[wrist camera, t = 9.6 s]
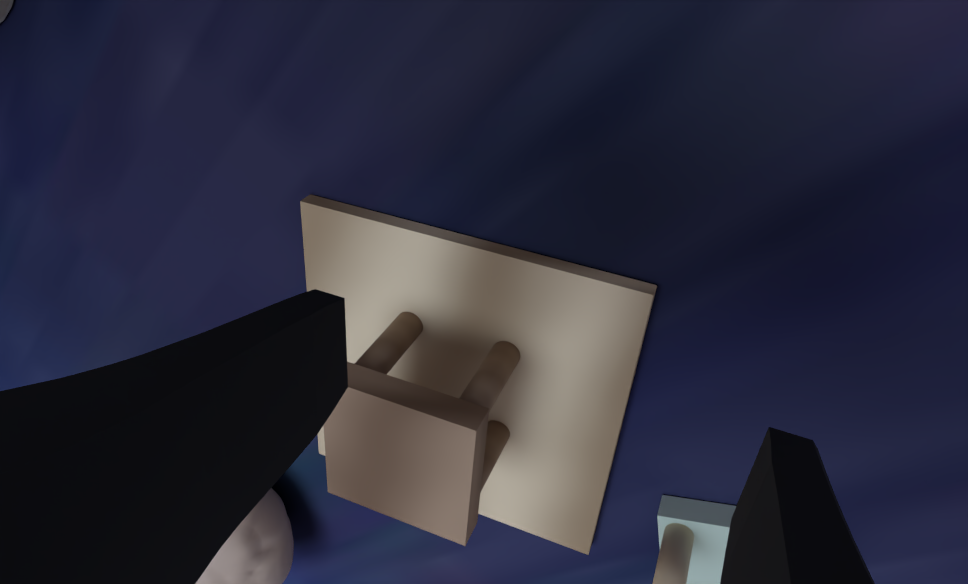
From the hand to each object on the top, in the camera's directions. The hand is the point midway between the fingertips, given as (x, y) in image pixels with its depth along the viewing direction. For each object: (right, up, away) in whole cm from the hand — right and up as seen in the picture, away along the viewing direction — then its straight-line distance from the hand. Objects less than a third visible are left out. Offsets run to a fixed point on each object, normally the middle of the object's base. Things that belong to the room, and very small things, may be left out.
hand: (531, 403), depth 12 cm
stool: (-2, -1, +13) cm, 14 cm away
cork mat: (-2, -1, +14) cm, 14 cm away
